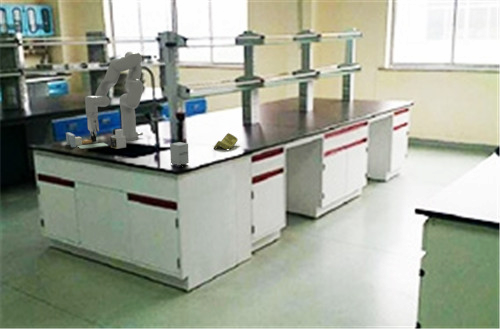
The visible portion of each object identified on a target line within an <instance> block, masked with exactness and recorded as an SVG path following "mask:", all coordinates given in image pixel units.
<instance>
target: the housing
mask: <svg viewBox="0 0 500 329" xmlns="http://www.w3.org/2000/svg"><path fill="white" fill-rule="evenodd" d="M65 137H66V145H67V146H70V147H71V148H77V146H76V142H75V137H76V135H75V134H74V133H72V132H65Z"/></svg>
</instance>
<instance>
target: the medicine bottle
mask: <svg viewBox="0 0 500 329" xmlns="http://www.w3.org/2000/svg"><path fill="white" fill-rule="evenodd" d="M122 135H123V132H122V128H114V129H112V135H111V136H110V137H109V138H110V148H113V149H115V150H117V149H124V148H127V142H126V141H127V140H126V137H125V136H122Z"/></svg>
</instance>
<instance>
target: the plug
mask: <svg viewBox="0 0 500 329" xmlns="http://www.w3.org/2000/svg"><path fill="white" fill-rule="evenodd" d="M75 142H76V147H77V146H80V145H88V144H93V142H92V140H91V139H84V140H83V138H82V137H81V136H75Z"/></svg>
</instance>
